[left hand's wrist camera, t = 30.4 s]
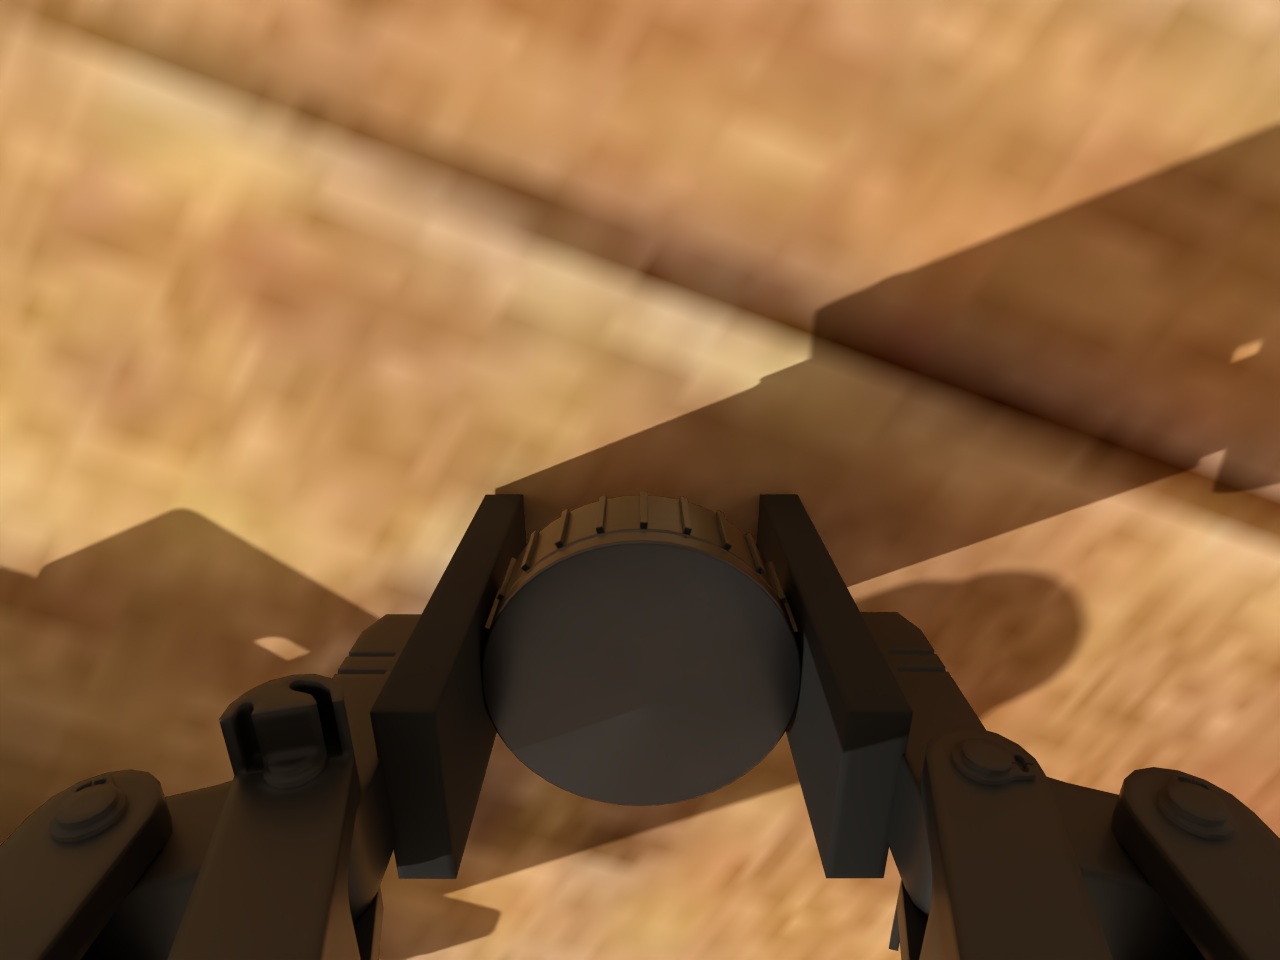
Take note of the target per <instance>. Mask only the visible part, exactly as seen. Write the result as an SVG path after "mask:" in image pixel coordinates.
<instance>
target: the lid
mask: <svg viewBox="0 0 1280 960" xmlns="http://www.w3.org/2000/svg"><path fill="white" fill-rule="evenodd" d="M484 632H485V633H486V634H487V638H486V641H485V644H484V647H483V653H482V659H481V681H482V691H483V698H484V702H485V705H486V708H487V711H488V714H489V717H490V719H491V721H492V723H493V725H494V727H495V729H496V731H497V733H498V734H499V736H500V737H501V738H502V740H503V741H504V743H505V744H506V746H507V747H508V748H509V749H510V750H511V751H512V752H513V754H514V755H515V756H516V757H517V758H518V759H519V760H520V761H521V762H522V763H524V764H525V765H526V766H527V767H528V768H529V769H531V770H532V771H533V772H534V773H536V774H537V775H539V776H540V777H542V778H543V779H545V780H546V781H548V782H550V783H552V784H554V785H556V786H558V787H560V788H562V789H564V790H566V791H568V792H571V793H574V794H576V795H579V796H581V797H585V798H589V799H592V800H596V801H600V802H606V803H612V804H618V805H632V806H649V805H663V804H670V803H677V802H681V801H685V800H689V799H693V798H697V797H700V796H703V795H705V794H708V793H711V792H714V791H716V790H718V789H720V788H722V787H724V786H726V785H728V784H730V783H732V782H733V781H735V780H737V779H738V778H740V777H741V776H743V775H745V774H746V773H747V772H749V771H750V770H751V769H752V768H754V767H755V766H756V765H757V764H758V763H760V762H761V761H762V760H763V759H764V758H765V757H766V756H767V755H768V753H769V752H770V751H771V750H772V749H773V748H774V747H775V745H776V744H777V743H778V741H779V740H780V739H781V737H782V736H783V734H784V732H785V731H786V729H787V727H788V725H789V723H790V721H791V719H792V717H793V714H794V711H795V709H796V706H797V703H798V698H799V693H800V687H801V674H802V665H801V656H800V649H799V646H798V642H797V639H796V637H798V629H797V626H796V623H795V621H794V618H793V615H792V612H791V610H790V607H789V604H788V601H787V598H786V595H785V593H784V590H783V587H782V585H781V582H780V579H779V576H778V574H777V571H776V568H775V566H774V564H773V562H772V561H770V562H768V563H767V561H766V560H765V558H764V556H763V555H762V553H761V552H760V550H759V549H758V548H757V546H756V543H755V540H754V537H753V536H752V535H751V534H750V533H748V534H747V535H745V534H744V533H743V532H742V531H740V530H739V529H738V528H737V527H736V526H735V525H733V524H732V523H730V522H729V521H727V520H726V519H725V517H724V513H722V512H720V511H717V513H714V512H712V511H709V510H707V509H705V508H703V507H701V506H698V505H695V504H692V503H689V502H687V498H686V497H682V496H681V497H680V500H678V499H673V498H668V497H663V496H649V495H647V492H643V491H641V492H640V495H634V496H621V497H615V498H609V499H607V498H606V495H604V496H600V497H599V501H597V502H593V503H590V504H587V505H584V506H582V507H579V508H577V509H575V510H573V511H569V510H568V509H565V510H564V511H562V514H561V517H560V518H558V519H556V520H555V521H553V522H551V523H550V524H549V525H548V526H546V527H545V528H544V529H543V530H542V531H540V532H538V531H537V530H535V531H534V532H533V533H532V534H531V537H530V540H529V543H528V544H527V545H526V546H525V548H524V549H523V551H522V552H521V553H520V555H519V556H518V558H517V559H514V558H511V560H510V562H509V564H508V567H507V570H506V573H505V576H504V578H503V581H502V584H501V587H500V589H498V592H497V594H496V597H495V600H494V602H493V605H492V608H491V611H490V613H489V616H488V619H487V622H486V624H485V627H484Z"/></svg>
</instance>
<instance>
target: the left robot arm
mask: <svg viewBox="0 0 1280 960" xmlns="http://www.w3.org/2000/svg"><path fill="white" fill-rule="evenodd" d="M525 546H526V536H525V521H524V506H523V495H485V497H484V499H483V501H482V503H481V505H480V506H479V508H478V510H477V512H476V514H475V516H474V518H473V520H472V521H471V523H470V525H469V527H468V529H467V531H466V533H465V535H464V536H463V538H462V540H461V542H460V544H459V546H458V548H457V550H456V551H455V553H454V555H453V557H452V559H451V561H450V563H449V565H448V566H447V568H446V570H445V572H444V574H443V576H442V578H441V579H440V581H439V583H438V585H437V587H436V589H435V591H434V593H433V594H432V596H431V598H430V600H429V602H428V604H427V606H426V608H425V609H424V611H423V613H422V615H421V614H386V615H385V616H384V617H382V618H381V619H380V620H378V621H377V622H375V623H374V624H373V625H371V626H370V627H369V628H367V629H366V630H365V631H363V632H362V634H361V635H360V637H359V638H358V640H357V641H356V643H355V644H354V646H353V648H352V649H351V651H350V652H349V657H346V658H345V660H344V661H343V663H342V664H341V666H340V668H339V669H338V674H335V675H334V677H333V678H328V677H324V676H320V675H316V674H304V675H291V676H287V677H283V678H279V679H275V680H271V681H268V682H266V683H264V684H262V685H260V686H257V687H255V688H253V689H251V690H249V691H247V692H246V693H245V694H243V695H242V696H241V697H239V698H238V699H236V700H235V701H234V702H232V703H231V704H230V705H229V706H228V708H227V709H226V711H225V712H224V713H223V715H222V716H221V717H220V719H219V721H220V725H221V728H222V732H223V736H224V739H225V743H226V746H227V750H228V754H229V757H230V761H231V765H232V768H233V772H234V775H235V776H234V779H233V781H229V782H226V783H223V784H220V785H216V786H212V787H207V788H203V789H199V790H194V791H190V792H186V793H181V794H177V795H173V796H168V797H165V796H164V793H163V790H162V787H161V784H160V782H159V781H158V780H157V779H156V778H155V777H154V776H152V775H151V774H150V773H148V772H142V771H136V770H123V771H116V772H109V773H104V774H101V775H99V776H96V777H93V778H90V779H87V780H84V781H81V782H79V783H77V784H75V785H73V786H71V787H70V788H68V789H66V790H64V791H62V792H61V793H59V794H57V795H55V796H53V797H52V798H51V799H49V800H48V801H47V802H46V803H45V804H43V805H42V806H41V807H40V808H38V809H37V810H36V811H35V812H34V813H32V814H31V815H30V816H29V817H28V818H27V819H26V820H25V821H24V822H23V823H22V824H21V825H20V826H19V827H18V828H17V829H16V830H15V831H14V832H13V833H12V834H11V835H10V836H9V837H8V839H7V840H6V841H5V842H4V843H3V844H2V845H1V846H0V960H379V951H380V940H381V928H382V917H383V902H382V896H381V890H380V884H381V881H382V878H383V876H384V873H385V871H386V868H387V865H388V863H389V860H390V858H391V855H392V852H393V850H394V853H395V859H396V864H397V870H398V876H399V878H413V879H456V878H457V874H458V870H459V867H460V863H461V859H462V856H463V852H464V849H465V845H466V841H467V838H468V834H469V830H470V827H471V823H472V820H473V816H474V812H475V809H476V805H477V801H478V798H479V794H480V791H481V787H482V783H483V780H484V776H485V772H486V769H487V765H488V762H489V758H490V754H491V751H492V747H493V744H494V740H495V736H496V733H497V731H496V729H495V727H494V725H493V723H492V721H491V719H490V717H489V714H488V711H487V708H486V705H485V702H484V698H483V691H482V681H481V659H482V653H483V647H484V644H485V641H486V638H487V634H486V633H485V632H484V627H485V624H486V622H487V619H488V616H489V613H490V611H491V608H492V605H493V602H494V600H495V597H496V594H497V592H498V589H500V587H501V584H502V581H503V578H504V576H505V573H506V570H507V567H508V564H509V562H510V560H511V558H514V559H517V558H518V556H519V555H520V553H521V552H522V551H523V549H524V548H525ZM757 548H758V549H759V550H760V552H761V553H762V555H763V556H764V558H765V560H766V561H767V563H768V562H770V561H772V562H773V564H774V566H775V568H776V571H777V574H778V576H779V579H780V582H781V585H782V587H783V590H784V593H785V595H786V598H787V601H788V604H789V607H790V610H791V612H792V615H793V618H794V621H795V623H796V626H797V629H798V637H796V639H797V642H798V646H799V649H800V656H801V665H802V674H801V687H800V693H799V698H798V703H797V706H796V709H795V711H794V714H793V717H792V719H791V721H790V723H789V725H788V727H787V729H786V733H787V737H788V741H789V744H790V748H791V752H792V755H793V759H794V763H795V766H796V770H797V773H798V777H799V781H800V784H801V788H802V792H803V795H804V799H805V803H806V806H807V810H808V814H809V817H810V821H811V824H812V828H813V832H814V835H815V839H816V843H817V846H818V850H819V854H820V857H821V861H822V865H823V868H824V872H825V875H826V878H884V872H885V867H886V861H887V856H888V850H889V847H890V850H891V853H892V855H893V858H894V860H895V863H896V865H897V868H898V871H899V873H900V876H901V878H902V879H901V885H900V890H899V895H898V900H897V905H896V911H895V916H894V921H893V926H892V931H891V938H890V944H889V949H892V950H897V951H898V948H899V943H900V949H901V960H1280V838H1279V837H1278V836H1277V835H1276V834H1275V833H1274V832H1273V831H1272V830H1271V829H1270V828H1269V827H1268V826H1267V825H1266V824H1265V823H1264V822H1263V821H1262V820H1261V819H1260V818H1259V817H1258V816H1257V815H1256V814H1255V813H1254V812H1253V811H1251V810H1250V809H1249V808H1248V807H1247V806H1245V805H1244V804H1243V803H1242V802H1240V801H1239V800H1238V799H1237V798H1235V797H1234V796H1233V795H1232V794H1230V793H1228V792H1226V791H1224V790H1223V789H1221V788H1219V787H1217V786H1215V785H1214V784H1212V783H1210V782H1208V781H1206V780H1204V779H1201V778H1198V777H1195V776H1192V775H1190V774H1187V773H1184V772H1181V771H1178V770H1171V769H1163V768H1156V767H1152V768H1145V769H1139V770H1135V771H1133V772H1132V773H1131V774H1130V775H1129V776H1128V777H1126V778H1125V779H1124V782H1123V785H1122V788H1121V791H1120V794H1119V795H1117V794H1113V793H1108V792H1104V791H1100V790H1095V789H1091V788H1087V787H1082V786H1078V785H1074V784H1070V783H1066V782H1062V781H1059V780H1056V779H1052V778H1049V777H1046V775H1045V773H1044V772H1043V770H1042V769H1041V767H1040V765H1039V764H1038V762H1037V761H1036V759H1035V758H1034V757H1033V756H1031V755H1030V754H1029V753H1028V752H1027V751H1025V750H1024V749H1023V748H1022V747H1021V746H1020V745H1018V744H1016V743H1015V742H1013V741H1011V740H1009V739H1007V738H1005V737H1003V736H1001V735H999V734H997V733H993V732H990V731H986V729H985V728H984V726H983V725H982V723H981V721H980V720H979V718H978V717H977V715H976V714H975V712H974V711H973V709H972V708H971V706H970V705H969V703H968V702H967V700H966V698H965V697H964V695H963V694H962V692H961V691H960V689H959V688H958V686H957V685H956V683H955V682H954V680H953V679H952V677H951V675H950V674H949V672H946V671H945V666H944V665H943V663H942V662H941V660H940V659H939V657H938V655H937V654H934V649H933V648H932V646H931V645H930V643H929V642H928V640H927V639H926V637H925V636H924V634H923V632H922V631H921V630H920V629H919V628H918V627H916V626H915V625H914V624H912V623H911V622H909V621H908V620H907V619H905V618H904V617H903V616H901V615H900V614H899V613H897V612H860V611H859V609H858V608H857V606H856V604H855V602H854V600H853V598H852V596H851V594H850V593H849V591H848V589H847V587H846V585H845V583H844V581H843V579H842V578H841V576H840V574H839V572H838V570H837V568H836V566H835V564H834V562H833V561H832V559H831V557H830V555H829V553H828V551H827V549H826V547H825V546H824V544H823V542H822V540H821V538H820V536H819V534H818V532H817V531H816V529H815V527H814V525H813V523H812V521H811V519H810V517H809V516H808V514H807V512H806V510H805V508H804V506H803V504H802V502H801V501H800V499H799V497H798V495H760V507H759V522H758V536H757Z"/></svg>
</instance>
